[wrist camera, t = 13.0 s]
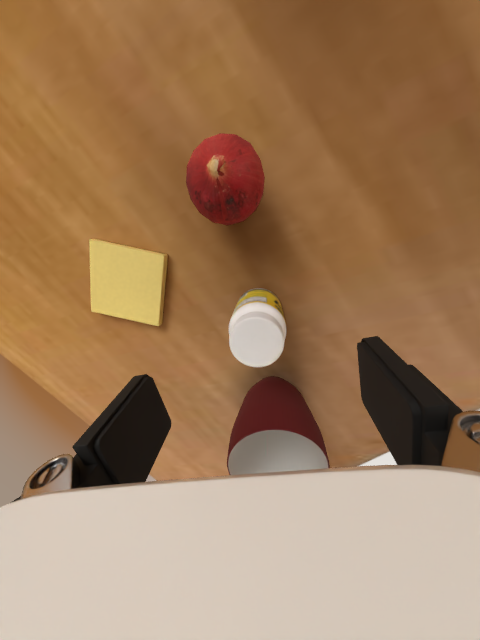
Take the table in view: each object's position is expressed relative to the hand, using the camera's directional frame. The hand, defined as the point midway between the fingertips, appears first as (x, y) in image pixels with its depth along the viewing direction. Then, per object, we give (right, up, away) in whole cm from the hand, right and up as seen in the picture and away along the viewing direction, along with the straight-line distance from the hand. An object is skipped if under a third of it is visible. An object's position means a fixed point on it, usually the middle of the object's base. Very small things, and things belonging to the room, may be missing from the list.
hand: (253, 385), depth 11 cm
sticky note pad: (-12, +7, +15) cm, 20 cm away
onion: (-1, +15, +11) cm, 18 cm away
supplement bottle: (+1, +4, +14) cm, 15 cm away
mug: (+4, -6, +18) cm, 19 cm away
